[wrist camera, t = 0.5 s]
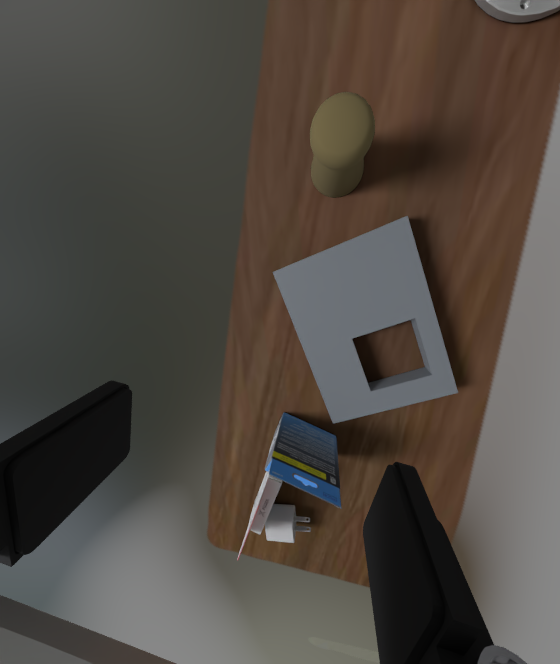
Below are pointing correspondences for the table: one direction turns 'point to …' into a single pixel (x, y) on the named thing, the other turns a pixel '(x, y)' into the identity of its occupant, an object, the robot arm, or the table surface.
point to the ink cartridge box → (262, 505)
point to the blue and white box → (305, 459)
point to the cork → (340, 143)
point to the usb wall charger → (283, 523)
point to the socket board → (365, 319)
